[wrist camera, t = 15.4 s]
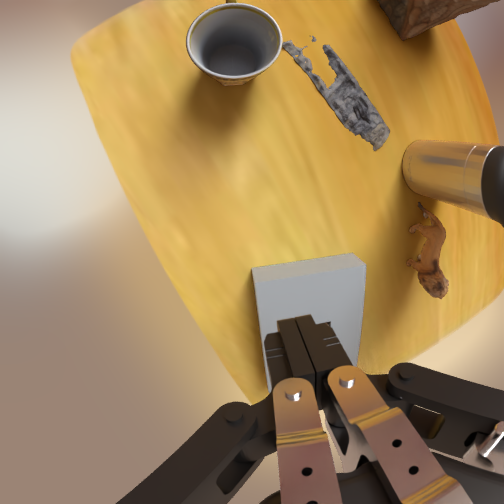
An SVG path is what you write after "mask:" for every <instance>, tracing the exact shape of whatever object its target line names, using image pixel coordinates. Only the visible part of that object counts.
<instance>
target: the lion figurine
mask: <svg viewBox="0 0 504 504" xmlns="http://www.w3.org/2000/svg"><path fill="white" fill-rule="evenodd" d="M418 207H419V208H420V209H421V210H422V211H423V212H424V214H423V216H424V218H428V216H429V218H430V220H431V224H432V226H422V225H421V224H420V223H419V224H416V225H413V226H411V227H410V229H409V232H410V233H415V230H416V229H418V230H419V231H420V232H421V233H422V235H423V236H424V237H426V238H427V241H426V243H425V244H424V246H423V248H422V251H421V255H418V261H420V262H416V261H414V260H413V259H409V260H408V261H407V262H406V264H407V266H411V265H412V266H413V268H414V269H415V270H417V271H418V279H419V280H420V281H419V282H420V284H421V285H422V286H423V288H424V289H425V290H426V291H427V292H428V293H429V294H430V295H431V296H432V297H436V298H440V299H442V298H443V297H444V296H445V295H446V294H447V292H448V285H449V283H448V282H449V281H448V280H447V279H446V278H445V277H444V275H443V273H442V271H441V270H440V267H439V256H440V251H441V247H442V245H443V243H444V241H445V238H446V231H445V228H444V227H443V225H442V223H441V222H440V221H439V219H438V218H437V217H436V216H434V215H433V214H432V213H431V212H429V211H427V210H426V209H424V208H423V206H422V205H421V204H420V202H418Z"/></svg>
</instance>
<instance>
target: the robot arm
mask: <svg viewBox="0 0 504 504" xmlns="http://www.w3.org/2000/svg"><path fill="white" fill-rule="evenodd" d="M402 169H403V175H404V179H405V181H406V183H407V185H408V186H409V188H410V189H411V190H412V191H414V192H415V193H417V194H420V195H424V196H427V197H430V198H433V199H436V200H439V201H442V202H445V203H448V204H451V205H454V206H457V207H460V208H463V209H465V210H468V211H471V212H474V213H476V214H479V215H482V216H485V217H487V218H490V219H492V220H495V221H497V222H499V223H500V224H501V225H502V226H503V227H504V146H498V145H489V144H478V143H467V142H453V141H435V140H418V141H415V142H413V143H412V144H411V145H410V146H409V147H408V148H407V150H406V152H405V154H404V157H403V165H402ZM277 330H278V332H274V333H269V334H267V335H266V337H265V340H264V348H265V354H266V361H267V367H268V372H269V377H270V382H271V387H272V390H271V392H270V394H269V395H268V396H267V397H266V398H265V399H264V400H262V401H260V402H258V403H256V404H254V405H251V406H250V405H248V404H246V403H243V402H231V403H227V404H225V405H223V406H221V407H220V408H219V409H218V410H217V411H216V412H215V413H214V414H213V415H212V416H211V417H210V418H209V419H208V420H207V421H206V422H205V423H204V424H203V425H202V426H201V427H200V428H199V429H198V430H197V431H196V432H195V433H194V434H193V435H192V436H191V437H190V438H189V439H188V440H187V441H186V442H185V443H184V444H183V445H182V446H181V447H180V448H179V449H178V450H177V451H176V452H175V453H173V454H172V455H171V456H170V457H169V458H168V459H167V460H166V461H165V462H164V463H163V464H161V465H160V466H159V467H158V468H157V469H156V470H155V471H154V472H153V473H151V474H150V475H149V476H148V477H147V478H146V479H145V480H144V481H142V482H141V483H140V484H139V485H138V486H136V487H135V488H134V489H133V490H132V491H131V492H129V493H128V494H127V495H126V496H125V497H123V498H122V499H121V500H120V501H118V502H117V503H116V504H227V503H228V502H229V501H230V500H231V498H232V497H233V496H234V495H235V494H236V493H237V492H238V491H239V489H240V488H241V487H242V486H243V484H244V483H245V482H246V481H247V480H248V478H249V477H250V476H251V475H252V473H253V472H254V471H255V470H256V468H257V467H258V466H259V465H260V463H261V462H262V461H263V459H264V457H265V456H267V455H269V454H272V453H274V452H276V451H277V456H278V467H279V480H280V490H279V491H277V492H275V493H273V494H271V495H270V496H268V497H267V498H265V499H264V500H263V501H262V502H260V503H259V504H504V391H503V390H499V389H495V388H491V387H488V386H484V385H481V384H477V383H474V382H470V381H467V380H463V379H460V378H457V377H453V376H450V375H447V374H443V373H440V372H437V371H434V370H431V369H428V368H425V367H421V366H418V365H416V364H412V363H399V364H397V365H395V366H393V367H392V368H391V369H390V371H389V374H382V375H369V374H365V373H364V372H363V371H362V370H361V369H360V368H358V367H355V366H353V364H352V362H351V361H350V359H349V357H348V355H347V353H346V352H345V350H344V348H343V346H342V344H341V343H340V341H339V339H338V337H337V336H336V334H335V332H334V330H333V328H331V327H330V326H328V325H327V324H325V323H320V324H316V323H315V321H314V319H313V317H312V315H311V314H308V315H303V316H298V317H294V318H288V319H282V320H277ZM415 405H417V406H420V407H423V408H425V409H423V408H420V407H417V406H415ZM426 409H428V410H431V411H428V410H426ZM319 410H324V413H325V425H326V428H327V430H328V432H329V434H330V436H331V439H332V441H333V443H334V445H335V447H336V449H337V452H338V454H339V456H340V458H341V461H342V467H343V472H344V473H336V471H335V466H334V461H333V457H332V453H331V448H330V444H329V440H328V436H327V434H326V432H324V431H323V428H322V423H321V419H320V415H319ZM432 411H434V412H437V413H440V414H437V413H434V412H432ZM429 448H431V449H435V450H437V451H440V452H443V453H446V454H449V455H452V456H455V457H459V458H462V459H463V460H464V463H463V462H460V461H457V460H454V459H451V458H449V457H446V456H443V455H441V454H438V453H435V452H431V451H430V450H429Z"/></svg>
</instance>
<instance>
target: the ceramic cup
mask: <svg viewBox="0 0 504 504" xmlns="http://www.w3.org/2000/svg"><path fill="white" fill-rule="evenodd" d="M186 48H187V51H188V54H189V56H190V58H191V60H192V61H193V62H194V64H195V65H196V66H197V67H198V68H199V69H201V70H202V71H203V72H205V73H206V74H207V75H209V76H210V77H212V78H214V79H216V80H217V81H218V82H220V83H221V84H222V85H224V86H227V85H242V84H245V83H246V82H248V81H249V80H251V79H253V78H255V77H256V76H258V75H259V74H261V73H262V72H264V71H265V70H266V69H267V68H269V67H270V66H271V65H272V64H273V63H274V62H275V60H276V59H277V58H278V56H279V54H280V51H281V48H282V34H281V30H280V28H279V26H278V24H277V23H276V21H275V20H274V19H273V18H272V17H271V16H270V15H269V14H268V13H266V12H265V11H263V10H262V9H260V8H258V7H255V6H252V5H249V4H243V3H237V0H226V4H221V5H218V6H215V7H212V8H210V9H208V10H206V11H205V12H203V13H202V14H200V15H199V16H198V17H197V18H196V19H195V20H194V21H193V23H192V24H191V26H190V28H189V30H188V33H187V37H186Z"/></svg>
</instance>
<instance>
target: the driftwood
mask: <svg viewBox="0 0 504 504" xmlns="http://www.w3.org/2000/svg"><path fill="white" fill-rule="evenodd" d="M312 37H313V39H312V42H315V41H316V39H315V37H314V36H312ZM282 47H283V48H284V49H285V50H287V51H288V53H289V54H290V55H291V56H292V57H293V58H294V60H295V61H296V62H297V63H298V64H299V65H300V66H301V67H302V68H303V70H304V71H305V72H306V73H307V74H308V76H309V77H310V78H311V79H312V81H313V82H314V83H315V85H316V87H317V88H318V90H319V91H320V92H321V94H322V95H323V96H324V97H325V99H326V100H327V102H328V104H329V105H330V106H331V108H332V109H333V110H334V111H335V113H336V115H337V116H338V118H339V119H340V120H341V122H342V123H343V125H344V126H345V127H346V128H347V129H349V131H351V132H353V133H354V134H355V136H356V135H359V134H360V135H361V137H362V138H363V139H365V140H366V141H367V142H370V143H371V144H372V145H373V150H374V151H375V150H377V149H379V148H380V147H381V146H382V145H383V143H384V142H385V140H386V139H387V138H388V136H389V133H390V130H389V128H388V127H387V126H386V124H385V123H384V121H383V120H382V118H381V116H380V115H379V113H378V111H377V110H376V109H375V107H374V106H373V104H372V103H371V102H370V100H369V99H368V97H367V95H366V93H365V92H364V91H363V90H362V88H361V87H360V86H359V84H358V82H357V80H356V79H355V77H354V76H353V75H352V74H351V72H350V71H349V70H348V68H347V67H346V66H345V64H344V63H343V61H342V60H341V59H340V58H339V57H338V56H337V54H335V52H334V51H333V49H332V48H331V47H330V45H323V50H324V53H325V54H326V55H327V57H328V59H329V65H330V66H331V67H332V69H333V70H334V71H335V73H336V74H337V76H336V78H335V82H334V83H333V84H332V85H331V86H330V87H329V89H330V90H329V89H328V88H326V85H325V83H324V82H323V80H322V79H321V78H320V77H319V76H318V75H316V74H312V64H311V61H310V59H308V58H306V57H305V56H303V54H302V50H303V49H304V48H306V47H307V46H305V47H303V49H302V48H298V47H295V46H294V45H293V43H292V41H287V42H283V43H282ZM295 55H299V56H298V57H295ZM305 62H306V63H305ZM309 71H310V73H309Z"/></svg>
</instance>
